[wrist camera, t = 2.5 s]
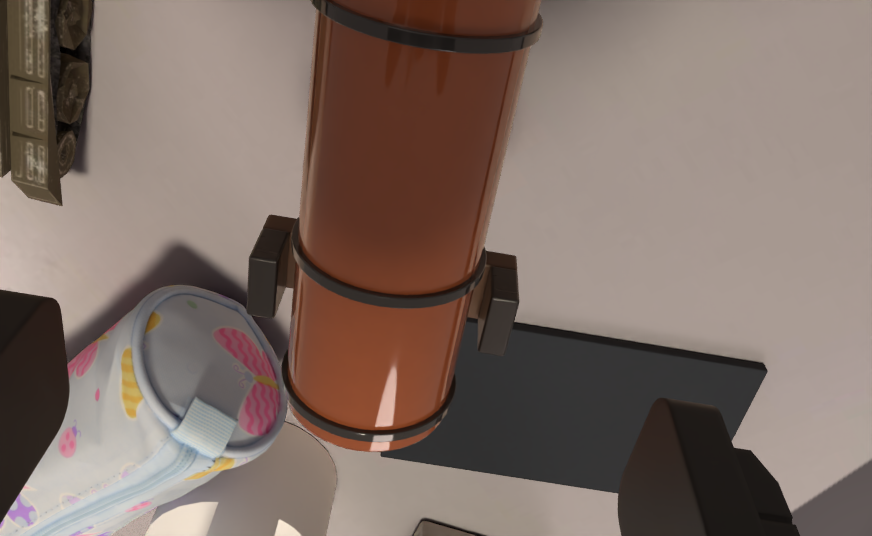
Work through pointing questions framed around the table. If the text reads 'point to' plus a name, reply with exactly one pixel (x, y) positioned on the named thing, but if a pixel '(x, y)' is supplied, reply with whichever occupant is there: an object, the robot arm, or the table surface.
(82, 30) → the toy tank
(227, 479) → the base with upright slab
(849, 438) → the table surface
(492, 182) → the banded orange roll
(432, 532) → the coffee box
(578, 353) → the rubber mat
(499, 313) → the cradle rack
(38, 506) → the pencil case
